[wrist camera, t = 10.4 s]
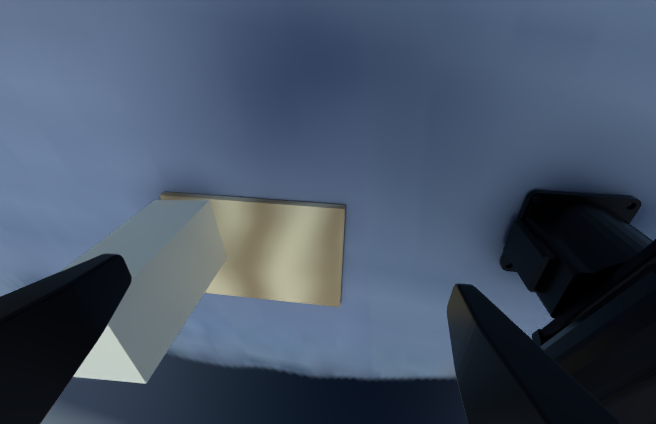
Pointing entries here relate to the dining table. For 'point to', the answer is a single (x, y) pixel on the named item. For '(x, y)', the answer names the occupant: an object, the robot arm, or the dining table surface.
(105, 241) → the tall white cuboid
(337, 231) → the board
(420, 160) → the dining table surface
